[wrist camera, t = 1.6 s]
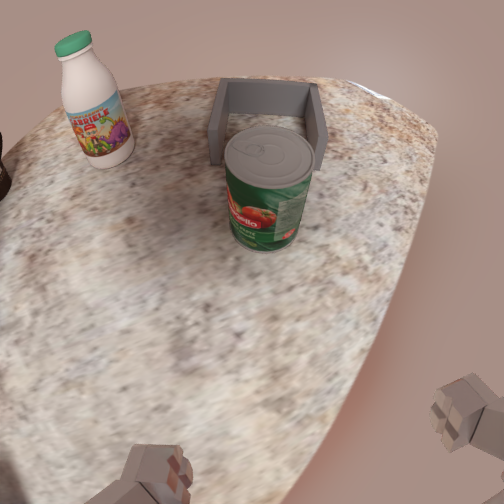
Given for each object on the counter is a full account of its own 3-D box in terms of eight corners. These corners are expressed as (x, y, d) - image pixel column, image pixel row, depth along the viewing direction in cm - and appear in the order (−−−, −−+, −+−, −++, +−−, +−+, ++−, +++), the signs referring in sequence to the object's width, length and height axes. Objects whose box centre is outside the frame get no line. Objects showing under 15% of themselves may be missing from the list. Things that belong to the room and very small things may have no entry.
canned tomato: (307, 210, 36) (325, 140, 26) (284, 264, 32) (300, 200, 23) (246, 188, 37) (247, 116, 28) (217, 238, 34) (207, 168, 24)
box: (211, 164, 39) (207, 129, 34) (222, 108, 46) (220, 78, 40) (319, 170, 39) (328, 137, 34) (311, 113, 45) (316, 83, 40)
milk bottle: (88, 147, 42) (46, 42, 24) (132, 129, 43) (102, 19, 26) (90, 178, 38) (36, 61, 21) (139, 158, 40) (102, 33, 22)
